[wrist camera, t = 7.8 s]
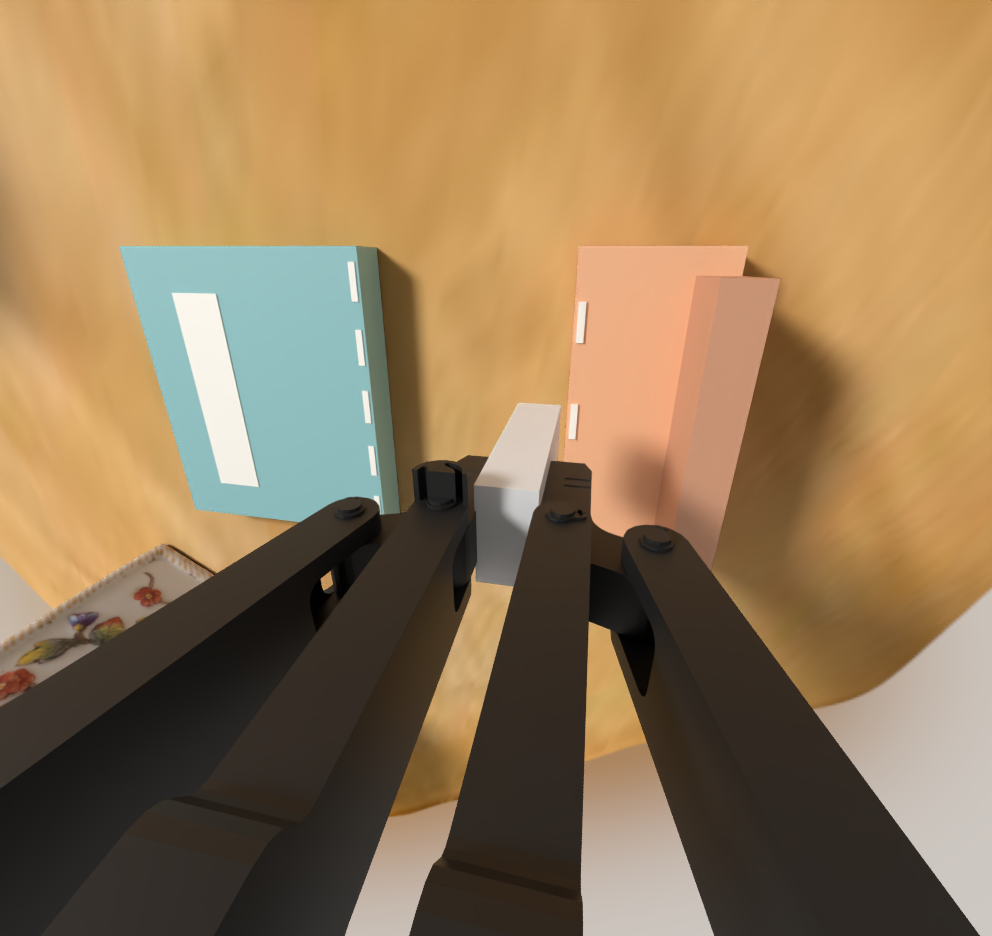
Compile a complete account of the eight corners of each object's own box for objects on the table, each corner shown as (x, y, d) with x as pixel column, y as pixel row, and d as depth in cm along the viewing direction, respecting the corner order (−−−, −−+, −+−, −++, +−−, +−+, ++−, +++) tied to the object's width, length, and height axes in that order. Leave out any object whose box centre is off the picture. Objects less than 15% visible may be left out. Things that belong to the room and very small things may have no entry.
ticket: (155, 247, 23) (117, 246, 21) (376, 247, 21) (355, 245, 19) (220, 494, 29) (195, 509, 27) (400, 514, 27) (385, 533, 25)
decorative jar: (129, 631, 37) (-241, 917, 21) (160, 535, 32) (-298, 816, 15) (256, 711, 37) (-4, 1048, 21) (307, 630, 32) (16, 992, 16)
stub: (580, 247, 19) (573, 240, 14) (735, 247, 18) (789, 240, 13) (559, 534, 25) (548, 605, 20) (676, 548, 24) (697, 627, 19)
